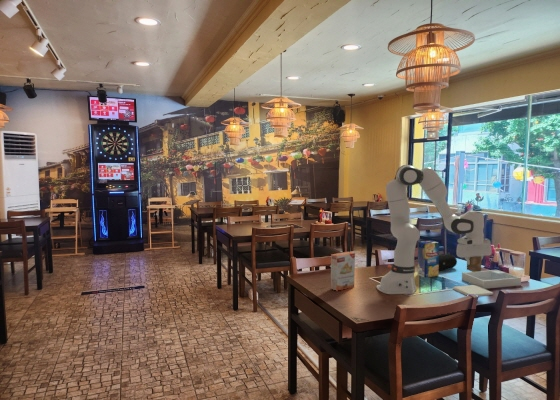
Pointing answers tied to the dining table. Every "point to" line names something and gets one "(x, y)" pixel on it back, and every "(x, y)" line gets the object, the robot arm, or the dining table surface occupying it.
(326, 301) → the dining table surface
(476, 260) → the walnut block
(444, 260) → the portable speaker
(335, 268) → the cracker box
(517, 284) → the grey bin
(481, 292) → the cream tile
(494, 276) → the blue-grey block
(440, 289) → the dining table surface
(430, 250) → the blue tall cardboard box
